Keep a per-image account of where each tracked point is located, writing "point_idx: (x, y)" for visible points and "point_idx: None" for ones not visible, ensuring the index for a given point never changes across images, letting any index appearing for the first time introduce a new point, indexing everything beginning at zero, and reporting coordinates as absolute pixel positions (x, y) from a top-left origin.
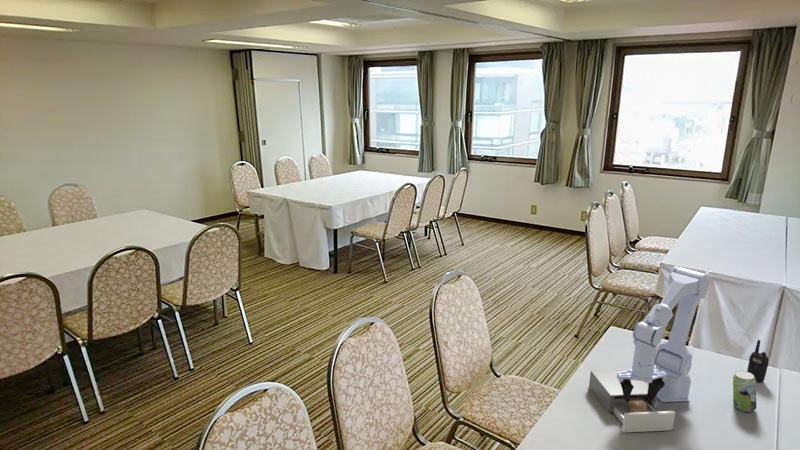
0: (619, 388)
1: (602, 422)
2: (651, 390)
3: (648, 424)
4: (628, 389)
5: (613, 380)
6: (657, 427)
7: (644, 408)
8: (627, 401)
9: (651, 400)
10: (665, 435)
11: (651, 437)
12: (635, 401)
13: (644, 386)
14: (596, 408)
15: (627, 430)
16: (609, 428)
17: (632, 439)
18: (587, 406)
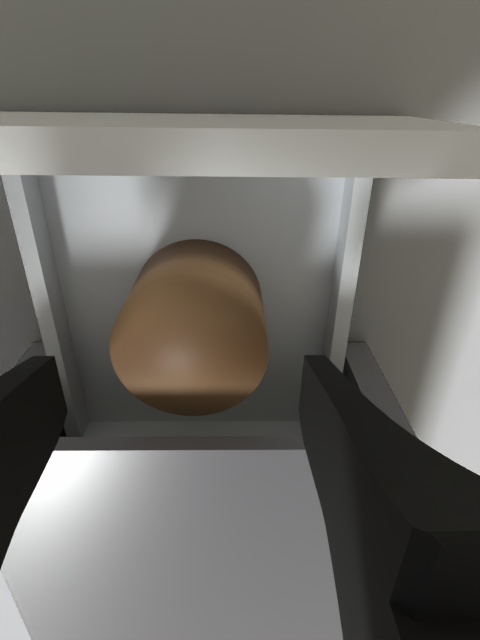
0: (276, 517)
1: (475, 256)
2: (1, 467)
3: (190, 117)
4: (452, 478)
5: (263, 589)
6: (99, 114)
7: (158, 286)
8: (327, 359)
9: (49, 359)
10: (54, 54)
11: (194, 35)
12: (196, 382)
13: (36, 529)
14: (411, 387)
15: (384, 116)
16: (474, 186)
17: (383, 21)
18: (454, 406)
